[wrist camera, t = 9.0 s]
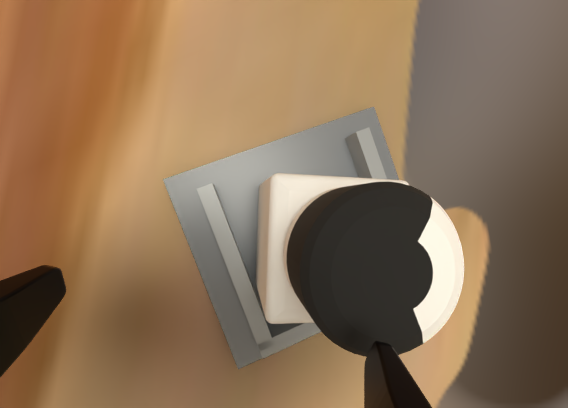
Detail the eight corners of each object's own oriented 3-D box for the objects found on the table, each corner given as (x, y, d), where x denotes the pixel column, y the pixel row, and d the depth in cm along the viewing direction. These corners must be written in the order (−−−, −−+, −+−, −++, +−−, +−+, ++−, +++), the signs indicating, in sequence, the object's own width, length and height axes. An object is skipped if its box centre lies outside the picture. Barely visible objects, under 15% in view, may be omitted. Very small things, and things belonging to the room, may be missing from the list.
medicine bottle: (254, 284, 21) (282, 394, 9) (258, 182, 21) (291, 154, 9) (351, 283, 22) (490, 380, 10) (355, 187, 22) (498, 168, 10)
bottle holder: (426, 276, 24) (451, 285, 21) (238, 363, 21) (238, 387, 18) (369, 110, 23) (387, 97, 20) (165, 180, 20) (154, 176, 18)
